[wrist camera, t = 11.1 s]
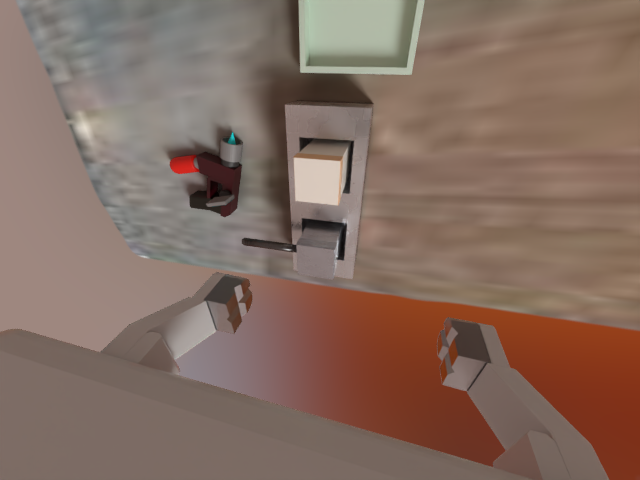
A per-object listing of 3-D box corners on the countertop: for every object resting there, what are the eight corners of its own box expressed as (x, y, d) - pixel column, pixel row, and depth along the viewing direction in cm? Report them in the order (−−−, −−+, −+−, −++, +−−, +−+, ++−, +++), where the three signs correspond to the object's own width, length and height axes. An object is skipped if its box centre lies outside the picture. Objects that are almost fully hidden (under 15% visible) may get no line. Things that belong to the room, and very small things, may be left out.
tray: (434, -71, 19) (439, -85, 17) (409, 74, 24) (411, 74, 22) (303, -62, 21) (296, -73, 19) (305, 72, 25) (300, 72, 24)
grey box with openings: (373, 103, 26) (369, 115, 19) (355, 260, 37) (348, 304, 30) (249, 98, 28) (203, 107, 21) (267, 248, 39) (241, 286, 32)
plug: (351, 139, 28) (340, 160, 21) (348, 176, 30) (338, 206, 23) (314, 137, 28) (293, 156, 22) (314, 173, 30) (294, 201, 24)
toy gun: (251, 134, 30) (230, 143, 26) (241, 216, 37) (224, 234, 33) (175, 106, 31) (143, 111, 27) (179, 194, 38) (155, 208, 34)
